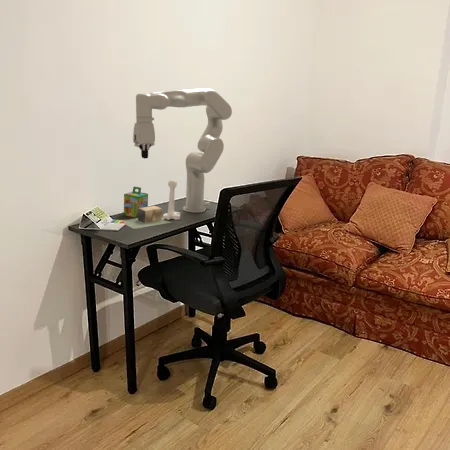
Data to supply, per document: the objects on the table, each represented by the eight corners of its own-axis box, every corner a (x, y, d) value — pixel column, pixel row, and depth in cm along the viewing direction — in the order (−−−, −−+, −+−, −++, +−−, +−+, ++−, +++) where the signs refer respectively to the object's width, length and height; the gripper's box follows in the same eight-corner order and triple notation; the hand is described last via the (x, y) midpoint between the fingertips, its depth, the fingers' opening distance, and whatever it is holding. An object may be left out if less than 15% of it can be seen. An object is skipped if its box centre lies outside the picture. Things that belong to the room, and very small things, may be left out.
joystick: (173, 215, 249) (175, 177, 244) (185, 218, 246) (187, 179, 240) (160, 219, 239) (162, 180, 234) (173, 222, 236) (175, 182, 231)
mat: (155, 216, 246) (155, 215, 246) (171, 223, 235) (171, 222, 235) (118, 221, 233) (118, 220, 233) (133, 229, 222) (133, 228, 222)
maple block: (137, 219, 236) (155, 217, 242) (144, 222, 232) (161, 220, 238) (137, 208, 235) (155, 205, 241) (144, 211, 230) (161, 208, 236)
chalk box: (123, 215, 243) (123, 187, 239) (133, 212, 251) (133, 184, 247) (138, 218, 240) (138, 190, 235) (148, 214, 248) (148, 187, 243)
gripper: (153, 119, 237) (153, 155, 242) (126, 120, 228) (127, 158, 233) (161, 120, 231) (161, 157, 237) (134, 121, 222) (135, 160, 228)
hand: (144, 157), depth 235 cm, fingers closed
